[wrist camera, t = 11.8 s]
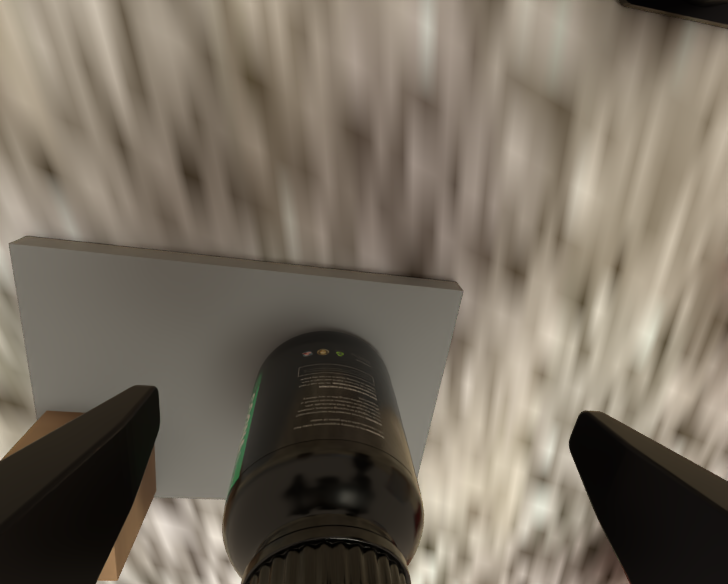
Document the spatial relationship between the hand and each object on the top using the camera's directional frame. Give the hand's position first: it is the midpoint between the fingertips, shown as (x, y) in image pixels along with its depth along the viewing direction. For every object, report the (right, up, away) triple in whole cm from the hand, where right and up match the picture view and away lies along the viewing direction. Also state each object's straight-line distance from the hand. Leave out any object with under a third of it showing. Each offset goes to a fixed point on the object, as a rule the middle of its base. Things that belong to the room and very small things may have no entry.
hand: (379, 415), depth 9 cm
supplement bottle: (-2, -2, +13) cm, 14 cm away
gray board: (-6, -2, +14) cm, 16 cm away
